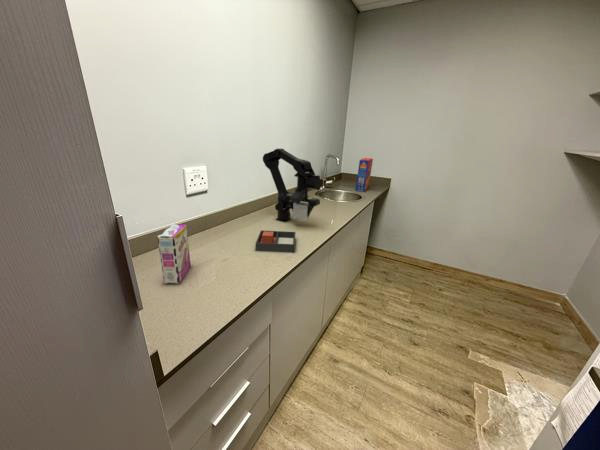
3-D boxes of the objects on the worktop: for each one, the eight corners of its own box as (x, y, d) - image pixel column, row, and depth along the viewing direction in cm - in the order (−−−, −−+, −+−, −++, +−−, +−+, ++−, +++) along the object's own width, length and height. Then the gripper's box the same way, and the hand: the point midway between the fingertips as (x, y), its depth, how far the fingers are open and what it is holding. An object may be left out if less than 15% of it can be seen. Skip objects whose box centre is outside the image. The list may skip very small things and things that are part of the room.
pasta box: (364, 192, 222) (368, 160, 212) (355, 190, 225) (359, 160, 215) (368, 186, 246) (372, 158, 236) (360, 185, 249) (364, 158, 239)
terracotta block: (262, 244, 106) (262, 235, 104) (263, 240, 110) (263, 231, 108) (272, 245, 106) (272, 235, 104) (273, 240, 110) (273, 231, 108)
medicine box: (309, 218, 131) (310, 203, 128) (306, 221, 127) (307, 205, 124) (295, 216, 133) (296, 201, 130) (292, 218, 129) (293, 203, 126)
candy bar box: (180, 284, 77) (173, 237, 71) (163, 284, 76) (155, 236, 71) (192, 266, 87) (186, 223, 82) (177, 266, 87) (171, 223, 81)
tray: (255, 250, 101) (255, 243, 100) (260, 237, 115) (260, 230, 113) (294, 252, 102) (294, 244, 100) (294, 238, 115) (295, 232, 114)
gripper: (278, 186, 122) (278, 215, 127) (311, 191, 113) (309, 222, 119) (290, 183, 131) (289, 210, 136) (321, 188, 122) (319, 217, 128)
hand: (301, 215), depth 129 cm, fingers closed on medicine box, 8 cm apart
